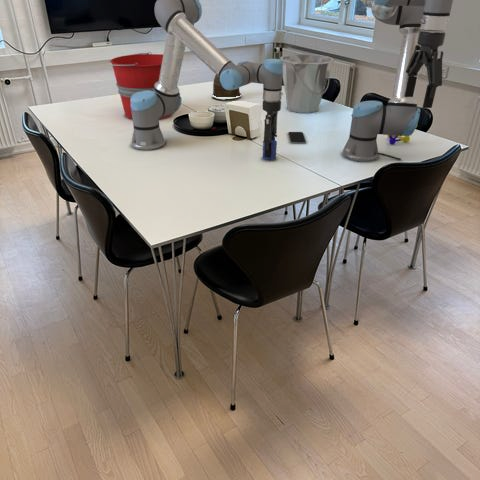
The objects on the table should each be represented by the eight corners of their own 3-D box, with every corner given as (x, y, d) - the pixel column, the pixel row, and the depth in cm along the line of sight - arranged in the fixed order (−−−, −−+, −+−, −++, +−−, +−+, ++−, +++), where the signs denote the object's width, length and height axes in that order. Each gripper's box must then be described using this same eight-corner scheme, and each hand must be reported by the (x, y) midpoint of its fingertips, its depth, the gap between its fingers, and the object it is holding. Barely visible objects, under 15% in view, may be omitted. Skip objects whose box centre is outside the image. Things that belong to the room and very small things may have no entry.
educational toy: (377, 146, 209) (379, 114, 202) (384, 138, 219) (386, 107, 211) (411, 149, 202) (415, 116, 195) (417, 141, 212) (420, 109, 204)
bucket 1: (124, 105, 264) (117, 51, 248) (182, 105, 263) (179, 51, 247) (107, 122, 235) (98, 62, 219) (173, 123, 234) (169, 63, 218)
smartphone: (290, 142, 209) (288, 131, 222) (290, 143, 209) (288, 133, 222) (306, 142, 209) (302, 131, 221) (305, 143, 209) (302, 133, 222)
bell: (227, 105, 294) (202, 96, 282) (238, 66, 289) (213, 55, 277) (243, 108, 280) (217, 98, 268) (255, 66, 275) (229, 55, 263)
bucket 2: (304, 119, 242) (309, 65, 227) (267, 107, 261) (268, 57, 246) (338, 109, 259) (345, 58, 244) (301, 99, 278) (304, 51, 263)
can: (278, 157, 194) (279, 140, 190) (272, 161, 189) (273, 144, 185) (266, 154, 196) (266, 138, 192) (260, 159, 192) (260, 142, 188)
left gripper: (275, 107, 171) (272, 163, 183) (285, 95, 186) (282, 147, 199) (257, 105, 173) (255, 161, 185) (268, 93, 188) (266, 146, 200)
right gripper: (403, 26, 144) (391, 92, 155) (441, 36, 123) (423, 113, 134) (425, 26, 145) (412, 92, 156) (466, 36, 124) (447, 112, 135)
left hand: (269, 154), depth 192 cm, fingers closed on can, 6 cm apart
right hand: (417, 102), depth 145 cm, fingers open, 13 cm apart
